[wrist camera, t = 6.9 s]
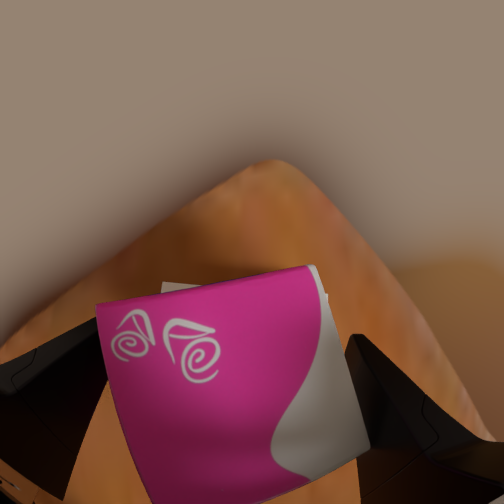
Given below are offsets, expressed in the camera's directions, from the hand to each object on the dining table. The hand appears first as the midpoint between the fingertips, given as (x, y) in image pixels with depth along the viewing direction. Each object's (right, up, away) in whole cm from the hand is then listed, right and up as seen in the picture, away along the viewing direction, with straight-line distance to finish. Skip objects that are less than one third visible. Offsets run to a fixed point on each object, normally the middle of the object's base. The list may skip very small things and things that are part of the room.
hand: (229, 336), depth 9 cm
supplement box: (-3, -5, +6) cm, 9 cm away
